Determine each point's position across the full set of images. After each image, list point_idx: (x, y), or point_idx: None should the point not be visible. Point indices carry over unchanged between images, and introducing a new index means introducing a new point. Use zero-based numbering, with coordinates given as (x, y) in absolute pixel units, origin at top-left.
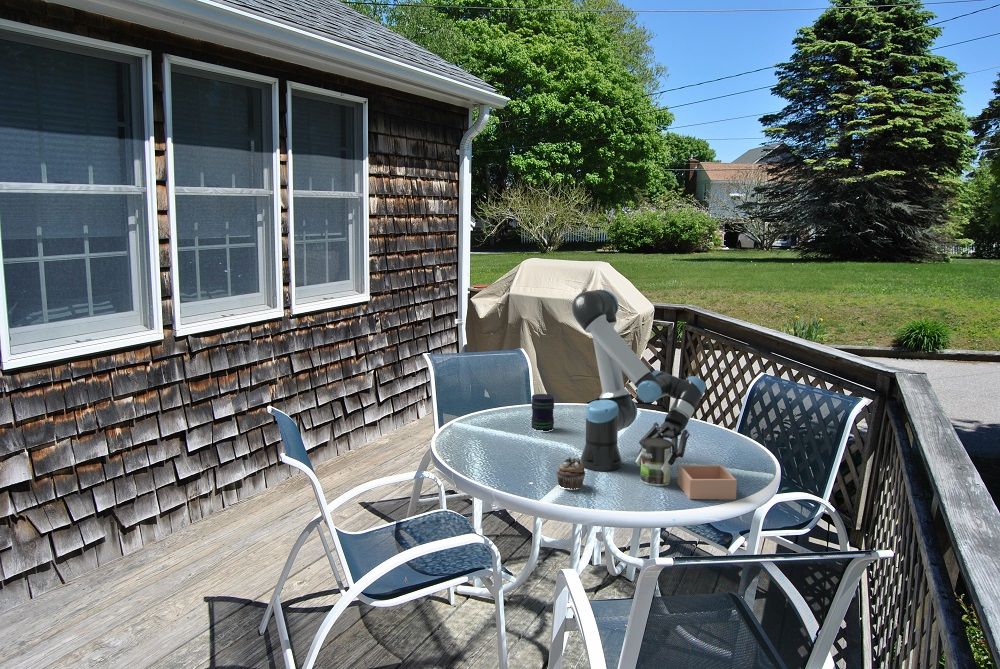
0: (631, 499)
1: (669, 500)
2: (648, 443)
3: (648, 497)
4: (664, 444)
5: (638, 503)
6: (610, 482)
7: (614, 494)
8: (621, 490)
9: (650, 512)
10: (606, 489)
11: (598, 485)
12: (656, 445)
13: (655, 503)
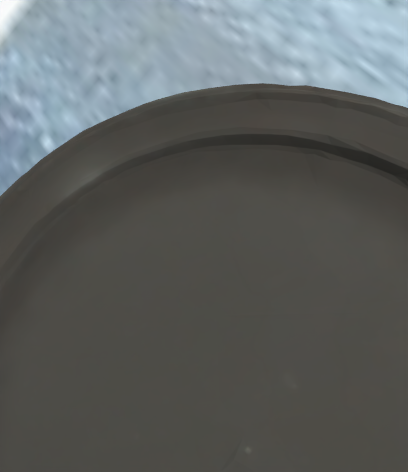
0: (147, 30)
1: (28, 161)
2: (285, 202)
3: (113, 109)
4: (2, 453)
5: (98, 25)
6: (398, 97)
7: (242, 5)
8: (261, 66)
9: (10, 4)
10: (320, 13)
11: (396, 14)
12: (76, 236)
13: (50, 84)
